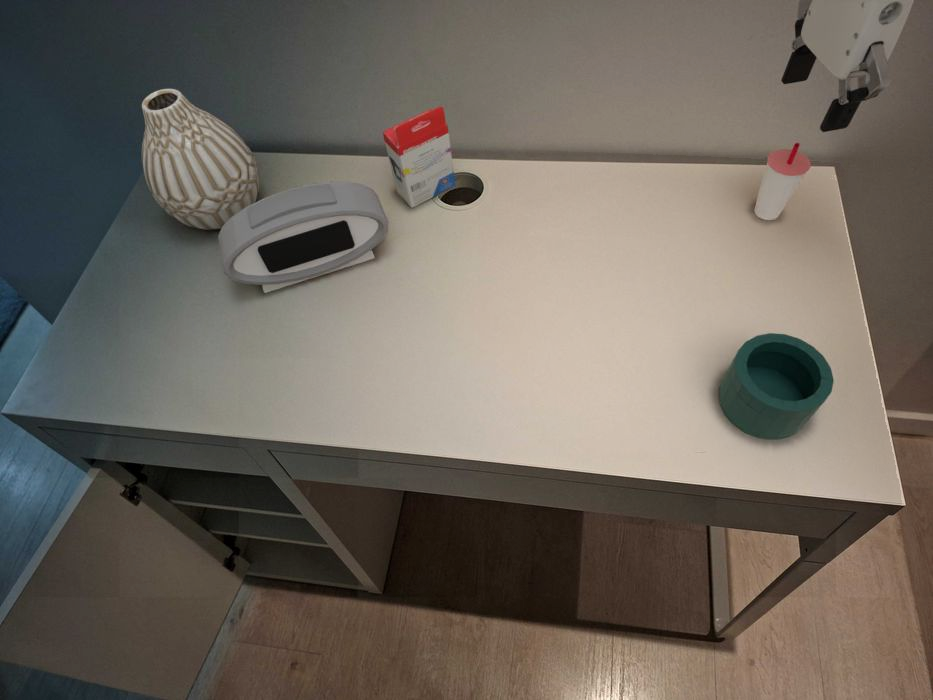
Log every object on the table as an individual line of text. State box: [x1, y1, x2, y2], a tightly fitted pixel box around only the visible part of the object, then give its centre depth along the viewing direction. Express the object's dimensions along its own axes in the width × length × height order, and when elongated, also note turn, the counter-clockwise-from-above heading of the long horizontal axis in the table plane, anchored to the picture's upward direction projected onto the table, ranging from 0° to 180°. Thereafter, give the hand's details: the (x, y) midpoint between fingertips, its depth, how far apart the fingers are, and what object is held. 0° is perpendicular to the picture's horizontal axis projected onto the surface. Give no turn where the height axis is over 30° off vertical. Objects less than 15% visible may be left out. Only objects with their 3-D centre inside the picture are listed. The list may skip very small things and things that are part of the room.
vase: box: [141, 88, 260, 231], centre depth 89 cm, size 16×16×20 cm
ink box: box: [382, 105, 456, 209], centre depth 89 cm, size 8×5×15 cm, turn 123°
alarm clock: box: [217, 181, 389, 294], centre depth 83 cm, size 23×6×13 cm, turn 110°
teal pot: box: [718, 332, 835, 440], centre depth 67 cm, size 10×10×7 cm
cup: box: [754, 142, 812, 221], centre depth 82 cm, size 5×5×12 cm
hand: (812, 104), depth 72 cm, fingers open, 9 cm apart
